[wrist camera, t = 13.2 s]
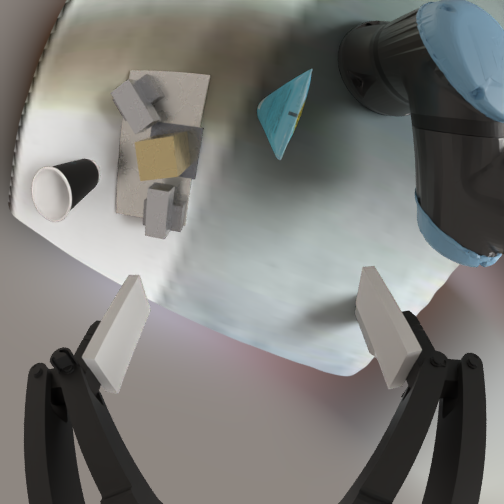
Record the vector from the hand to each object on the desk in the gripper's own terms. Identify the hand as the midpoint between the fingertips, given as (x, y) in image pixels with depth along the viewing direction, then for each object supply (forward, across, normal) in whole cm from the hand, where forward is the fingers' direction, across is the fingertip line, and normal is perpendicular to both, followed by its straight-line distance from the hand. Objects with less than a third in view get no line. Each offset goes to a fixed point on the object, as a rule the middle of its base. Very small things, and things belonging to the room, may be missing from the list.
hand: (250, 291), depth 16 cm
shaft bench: (+27, -14, +6) cm, 31 cm away
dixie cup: (+27, -27, +4) cm, 38 cm away
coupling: (+26, -11, +5) cm, 29 cm away
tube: (+27, +4, +9) cm, 29 cm away
